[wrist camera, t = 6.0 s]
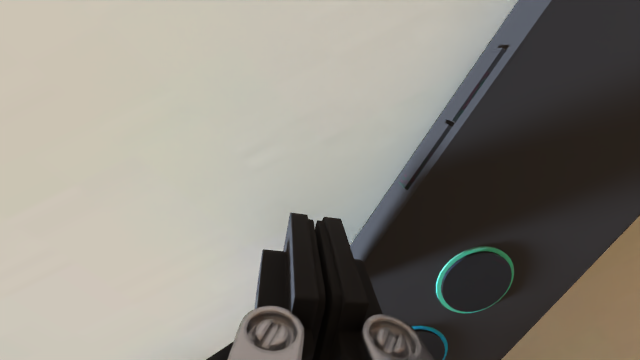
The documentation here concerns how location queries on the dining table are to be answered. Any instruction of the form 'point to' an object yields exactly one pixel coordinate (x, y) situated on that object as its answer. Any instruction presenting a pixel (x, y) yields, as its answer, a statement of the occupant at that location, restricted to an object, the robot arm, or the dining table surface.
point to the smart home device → (514, 181)
